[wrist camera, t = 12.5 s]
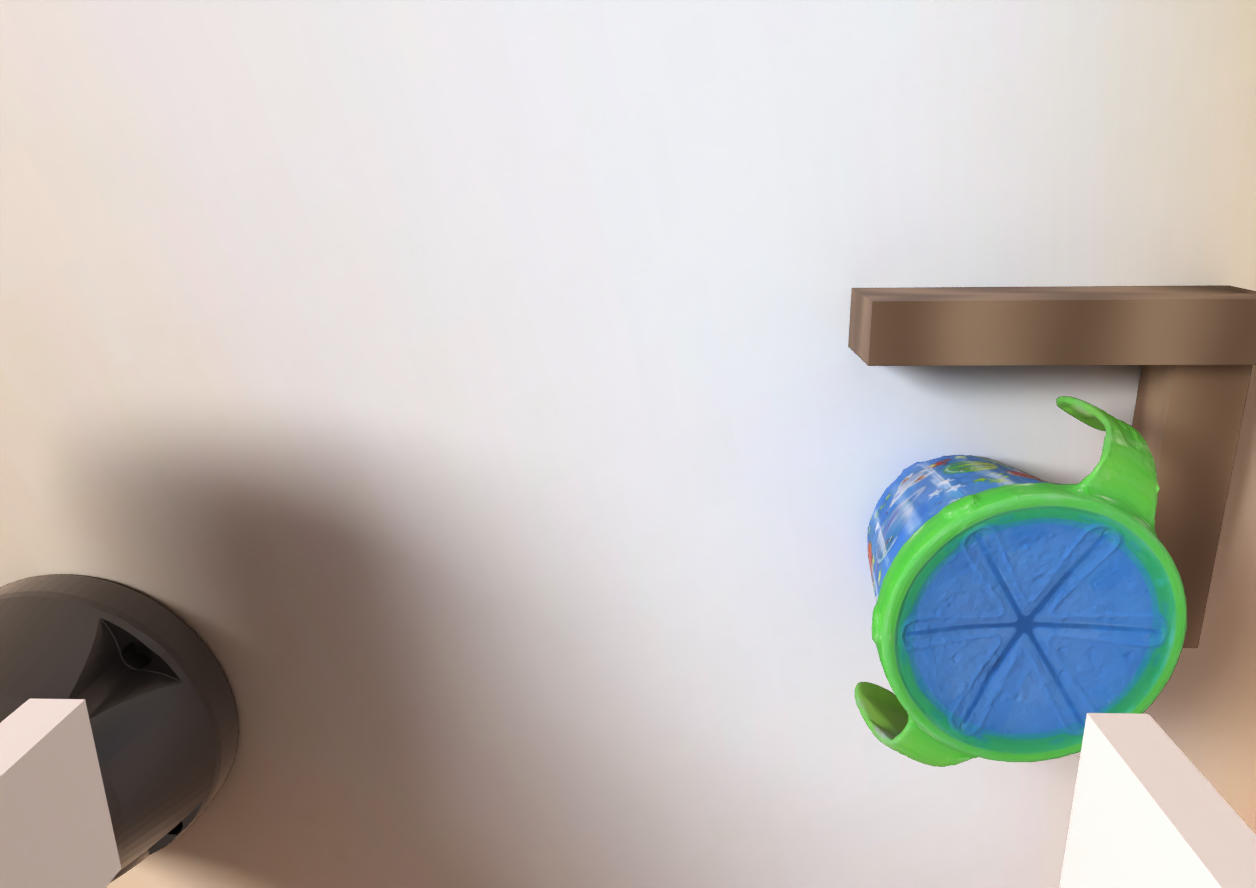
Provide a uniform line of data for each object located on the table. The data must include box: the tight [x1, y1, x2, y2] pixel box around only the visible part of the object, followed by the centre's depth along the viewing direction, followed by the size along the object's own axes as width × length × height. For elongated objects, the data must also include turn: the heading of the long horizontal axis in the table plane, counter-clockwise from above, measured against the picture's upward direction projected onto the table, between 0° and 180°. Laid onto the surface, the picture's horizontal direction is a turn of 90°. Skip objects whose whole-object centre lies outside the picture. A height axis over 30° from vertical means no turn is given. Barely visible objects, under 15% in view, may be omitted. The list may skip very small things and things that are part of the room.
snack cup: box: [855, 396, 1187, 767], centre depth 36 cm, size 16×11×10 cm
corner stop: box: [848, 286, 1256, 648], centre depth 38 cm, size 16×16×4 cm
